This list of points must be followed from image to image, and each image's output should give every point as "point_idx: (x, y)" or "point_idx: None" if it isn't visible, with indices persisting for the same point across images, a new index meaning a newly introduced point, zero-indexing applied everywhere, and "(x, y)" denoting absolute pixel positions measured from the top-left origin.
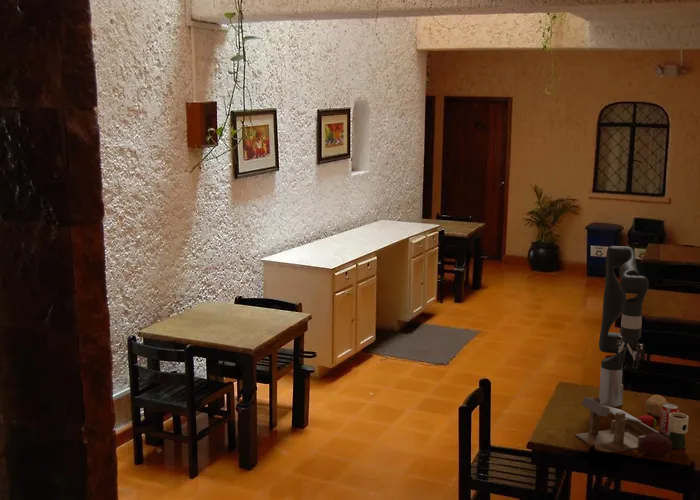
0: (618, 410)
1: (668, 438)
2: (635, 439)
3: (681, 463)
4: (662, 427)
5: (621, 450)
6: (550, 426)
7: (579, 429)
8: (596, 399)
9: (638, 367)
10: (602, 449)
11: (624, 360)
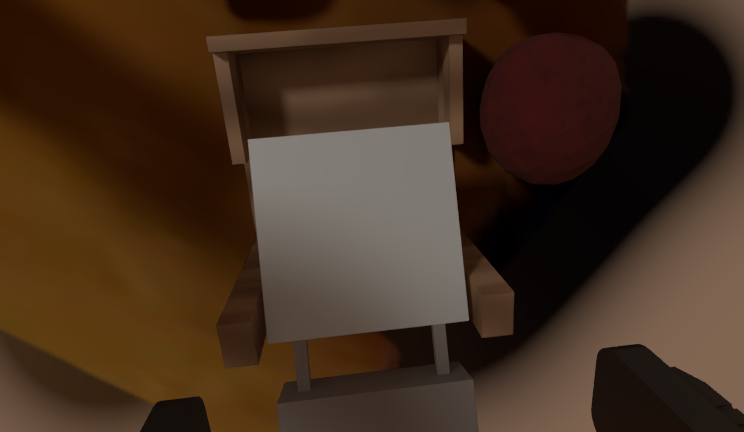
0: (303, 195)
1: (586, 50)
2: (372, 104)
3: (626, 45)
4: None
5: None
6: (164, 374)
7: (208, 279)
8: (247, 344)
9: (677, 371)
10: None
11: (190, 419)
